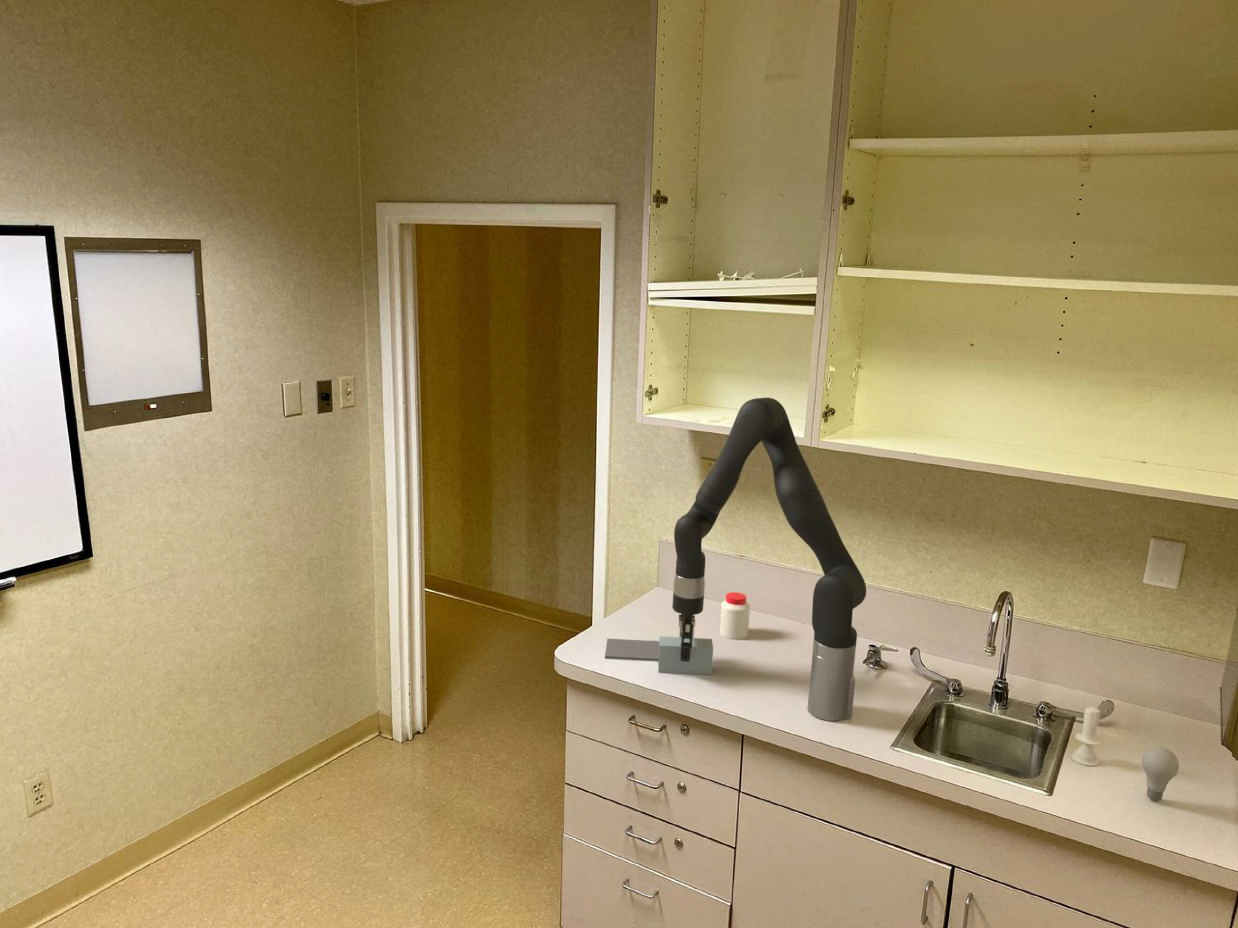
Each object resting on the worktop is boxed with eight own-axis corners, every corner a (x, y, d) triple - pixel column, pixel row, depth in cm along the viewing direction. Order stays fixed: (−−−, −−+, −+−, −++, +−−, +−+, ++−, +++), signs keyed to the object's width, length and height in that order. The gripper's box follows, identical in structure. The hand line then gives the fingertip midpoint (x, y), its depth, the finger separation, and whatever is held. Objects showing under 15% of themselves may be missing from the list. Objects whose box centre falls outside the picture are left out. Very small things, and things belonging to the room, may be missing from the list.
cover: (710, 664, 226) (711, 638, 224) (711, 674, 220) (713, 648, 219) (658, 662, 226) (659, 636, 225) (658, 672, 221) (659, 645, 219)
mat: (660, 643, 238) (660, 641, 237) (660, 661, 227) (660, 658, 227) (607, 640, 238) (607, 638, 238) (604, 658, 227) (604, 655, 227)
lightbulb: (1162, 813, 169) (1172, 760, 167) (1129, 797, 174) (1138, 745, 172) (1177, 803, 173) (1187, 751, 171) (1144, 787, 178) (1153, 737, 175)
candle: (1072, 749, 191) (1081, 697, 189) (1100, 758, 188) (1109, 705, 186) (1068, 760, 187) (1076, 707, 184) (1097, 769, 184) (1106, 715, 181)
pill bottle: (747, 629, 249) (750, 591, 247) (748, 640, 241) (751, 601, 239) (719, 627, 250) (721, 589, 247) (719, 638, 242) (722, 599, 240)
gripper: (705, 603, 212) (700, 667, 216) (703, 582, 226) (698, 642, 229) (673, 601, 212) (669, 665, 216) (673, 580, 226) (669, 640, 230)
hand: (684, 653), depth 223 cm, fingers open, 8 cm apart
